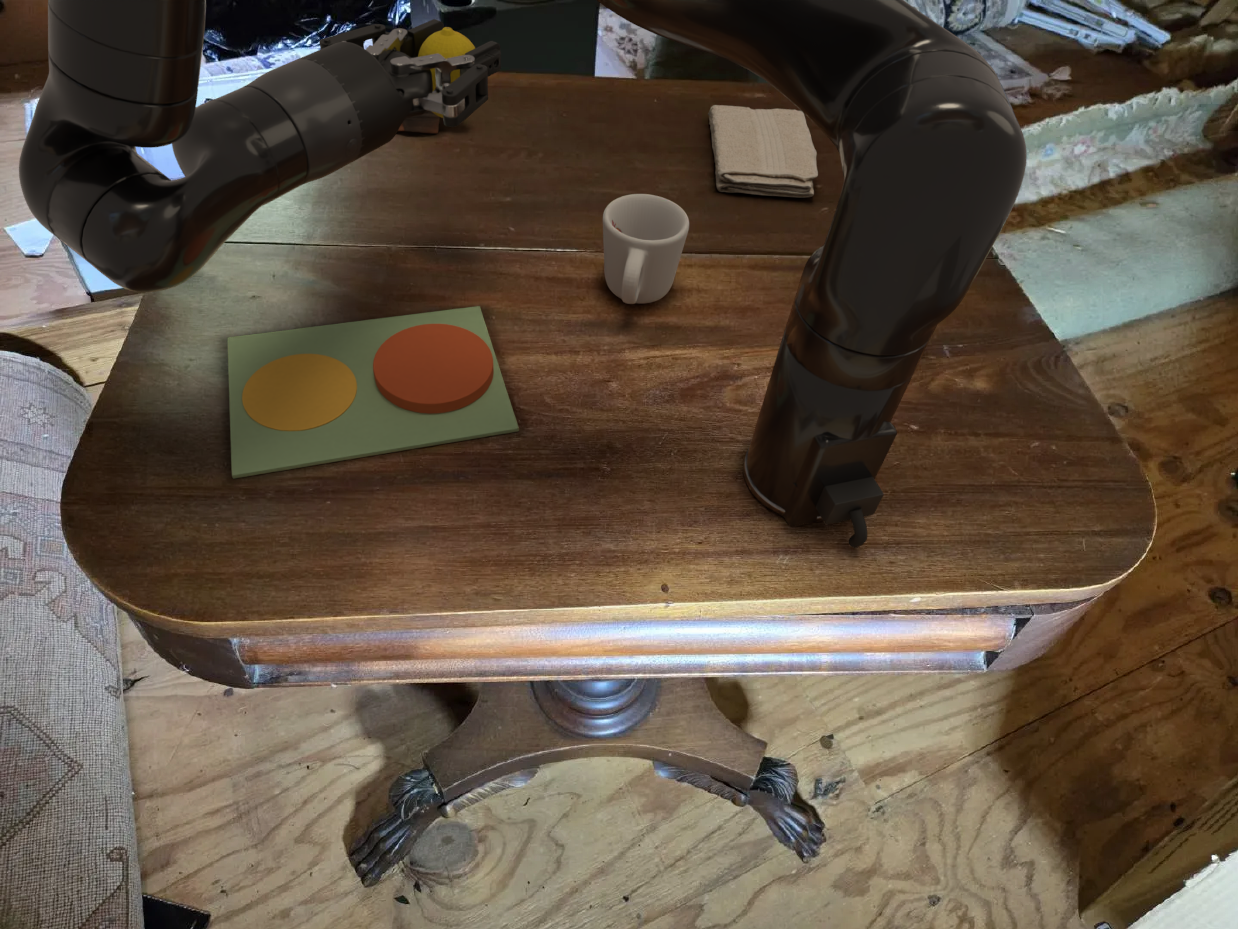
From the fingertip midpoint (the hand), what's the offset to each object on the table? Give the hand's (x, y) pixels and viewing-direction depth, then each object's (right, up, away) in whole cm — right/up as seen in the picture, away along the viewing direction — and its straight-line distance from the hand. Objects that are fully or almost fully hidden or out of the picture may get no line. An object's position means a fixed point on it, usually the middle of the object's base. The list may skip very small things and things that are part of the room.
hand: (468, 43), depth 72 cm
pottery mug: (-10, +6, +30) cm, 32 cm away
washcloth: (+29, +1, +31) cm, 43 cm away
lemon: (-2, -6, +3) cm, 7 cm away
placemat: (-8, -29, 0) cm, 30 cm away
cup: (+14, -19, +11) cm, 26 cm away
